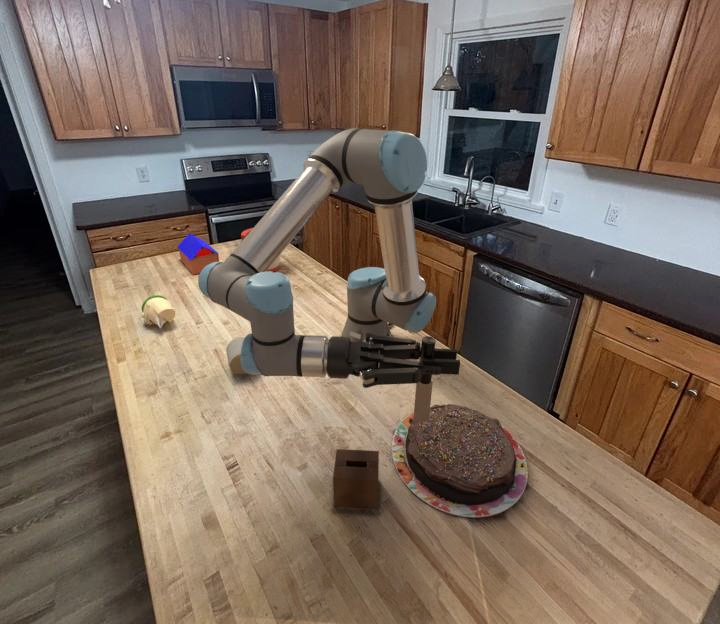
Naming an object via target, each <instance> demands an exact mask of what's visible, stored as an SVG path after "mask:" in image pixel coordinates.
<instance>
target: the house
mask: <svg viewBox="0 0 720 624" xmlns="http://www.w3.org/2000/svg"><path fill="white" fill-rule="evenodd" d="M177 249H178V251H179V252H178V253H179V257H180V261H181V262H182V263H183V264H184V265H185V267H186V268H187V269H188V270H189V271H190V273H191V274H192V275H193V276H194V275H195V276H196V275H200V273H201V271H202V270H203V268H204V267H205V266H207V265H209V264H211V263H213V262H220V256H219V253H218V251H216V250H215V248H213V247H212V246H210V245H209V243H207V242H206V241H205V240H203V239H201V238H199V237H197V236H195V235H193V234H191V233H188V234H187V235H186V236H185V238H183V240H182V241H181V242H180V243H179V244H178V245H177Z"/></svg>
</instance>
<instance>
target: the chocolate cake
mask: <svg viewBox="0 0 720 624" xmlns="http://www.w3.org/2000/svg"><path fill="white" fill-rule="evenodd" d="M413 416H414V411H411V412H410V413H409V414H407V416H405V417H404V418H402V420H401V421H400V422H399V424H398V425H397V427H396V428H395V430H394V433H393V436H392V438H391V458H392V463H393V465H394V468H395V470H396V473H397V475H398V476H399V478H400V479H401V481H402V482H403V484H404V486H406V487H407V488H408V490H409V491H410V492H411V493H412V494H413V495H414V496H415V497H417V498H418V499H420V501H422V502H423V503H425V505H426V504H427V505H429V506H430V507H431V508H434V509H437V510H438V511H440V512H444V513H447V514H450V515H451V516H454V517H459V518H467V519H484V518H485V517H486V518H487V517H503V514H502V513H503V512H505V511H508V510H509V509H511V508H512V507H514V506H516V505H517V503H518V502H519V501H520V499H521V497H522V495H523V494H524V493H525V489H526V488H527V484H528V478H529V476H530V475H529V465H528V461H527V458H526V454H525V453H524V451H523V449H522V447H521V445H520V444H519V442H518V441H517V439H516V438H515V437H514V436H513V435H512V434H511V432H509V430H507V428H506V427H504V426H503V425H502V424H501V422H500V420H499V419H498V418H493V417H491V416H489V415H487V414H485V413H483V412H481V411H479V410H476V409H474V408H471V407H467V406H462V405H458V404H454V403H447V404H433V405H430V413H429V421H415V420H413ZM404 446H405V447H404ZM404 448H405V449H404ZM404 450H405V452H404ZM405 456H406V457H405ZM406 460H407V461H406Z"/></svg>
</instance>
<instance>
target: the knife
mask: <svg viewBox="0 0 720 624" xmlns="http://www.w3.org/2000/svg"><path fill="white" fill-rule="evenodd" d="M436 341H437V340H436V339H435V337H433V336H430V335H425V336H423V337H421V345H420V347H421V355H420V357H419V361H420V362H422V360H423V358H426V359H434V351H435V348H436ZM432 378H433V375H422V378H421V380H419V382H418V383H415V393H414V394H415V395H414V404H413V405H414V406H413V412H414V416H413V420H415V421H429V413H430V406H431V403H432V395H433V384H434V380H433V379H432Z"/></svg>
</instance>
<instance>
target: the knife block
mask: <svg viewBox="0 0 720 624" xmlns="http://www.w3.org/2000/svg"><path fill="white" fill-rule="evenodd" d="M335 451H336V452H335V458H334V465H333V473H332V489H333V508H338V509H339V508H340V509H341V508H342V509H357V510H358V509H359V510H375V511H376V510H377V511H378V502H379V471H380V470H379V469H380V468H379V465H380V462H379V461H380V452H379V450H366V449H365V450H363V449H341V448H336V450H335Z"/></svg>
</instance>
